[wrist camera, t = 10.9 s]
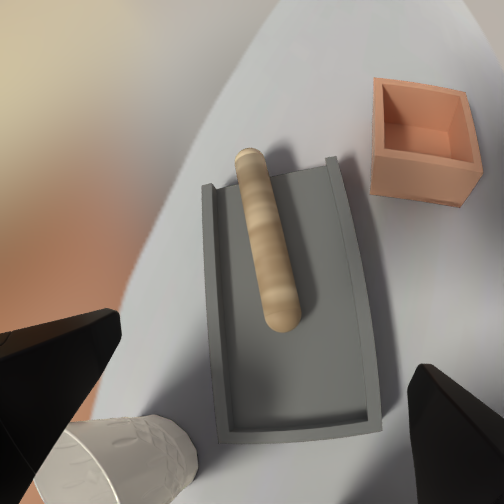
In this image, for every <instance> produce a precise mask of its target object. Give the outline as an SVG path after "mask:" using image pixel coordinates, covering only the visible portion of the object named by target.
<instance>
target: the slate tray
mask: <svg viewBox="0 0 504 504" xmlns="http://www.w3.org/2000/svg"><path fill="white" fill-rule="evenodd" d="M325 160H326V166H322V167H317V168H312V169H306V170H301V171H296V172H291V173H287V174H282V175H277V176H272V177H270V181H271V185H272V189H273V193H274V197H275V201H276V205H277V209H278V213H279V217H280V221H281V225H282V229H283V233H284V238H285V242H286V246H287V250H288V254H289V259H290V263H291V267H292V272H293V276H294V280H295V285H296V289H297V294H298V298H299V303H300V307H301V313H302V314H301V320H300V322H299V324H298V325H297V327H296V328H294V329H293V330H291V331H289V332H285V333H281V332H276V331H274V330H272V329H271V328H270V327H269V326H268V325H267V323H266V321H265V317H264V312H263V307H262V302H261V296H260V291H259V286H258V281H257V276H256V271H255V266H254V260H253V255H252V250H251V245H250V240H249V235H248V230H247V224H246V219H245V214H244V209H243V204H242V199H241V194H240V188H239V184H237V185H232V186H228V187H224V188H220V189H216V188H215V187H214V186H213V184H212V183H210V184H206V185H202V224H203V252H204V274H205V293H206V310H207V325H208V339H209V352H210V365H211V376H212V387H213V398H214V408H215V418H216V427H217V436H218V443H224V444H269V443H291V442H305V441H316V440H326V439H335V438H343V437H350V436H356V435H363V434H369V433H374V432H380V431H382V415H381V400H380V388H379V377H378V367H377V358H376V350H375V342H374V334H373V327H372V320H371V313H370V307H369V300H368V294H367V288H366V283H365V277H364V272H363V266H362V261H361V256H360V251H359V246H358V242H357V237H356V232H355V228H354V223H353V219H352V215H351V210H350V206H349V202H348V198H347V194H346V190H345V186H344V183H343V179H342V175H341V171H340V168H339V164H338V160H337V157H336V156H334V157H328V158H325Z"/></svg>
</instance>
